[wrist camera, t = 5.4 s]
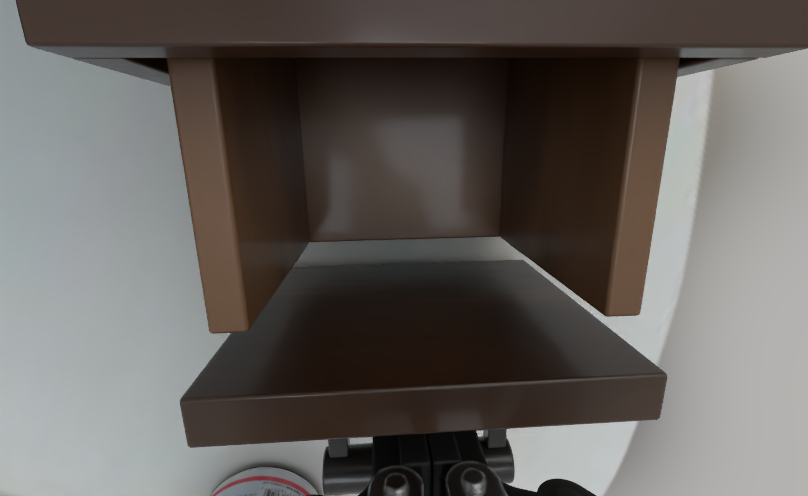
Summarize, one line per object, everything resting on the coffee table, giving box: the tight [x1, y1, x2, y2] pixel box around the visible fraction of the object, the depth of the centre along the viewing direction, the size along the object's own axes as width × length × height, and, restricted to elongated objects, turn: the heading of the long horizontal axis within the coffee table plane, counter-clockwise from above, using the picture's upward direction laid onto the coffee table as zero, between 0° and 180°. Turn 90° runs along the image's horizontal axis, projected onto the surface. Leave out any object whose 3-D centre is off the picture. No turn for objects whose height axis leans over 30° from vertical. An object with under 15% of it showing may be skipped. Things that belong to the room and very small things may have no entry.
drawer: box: [167, 58, 680, 496], centre depth 11 cm, size 19×10×9 cm, turn 1°
